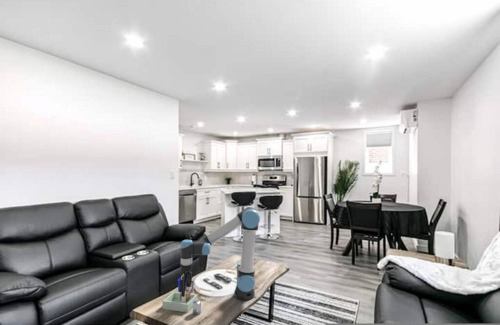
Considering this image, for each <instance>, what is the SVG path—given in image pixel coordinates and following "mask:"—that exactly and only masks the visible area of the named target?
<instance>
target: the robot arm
mask: <svg viewBox="0 0 500 325" xmlns="http://www.w3.org/2000/svg"><path fill="white" fill-rule="evenodd" d="M260 219H261V218H260V214H259V212H258V211H257V210H256V209H255V208H254V207H251V206H250V207H249V206H248V207H246V208H243V209H242V210H241V211H240V212H239V213H237V214H236V216H235V217H233V218H232V219H230V220H229V221H226V223H224V224H222V225H221V226H219V227H218V228H216V229H215V230H214V231H211V232H210V233H209V234H207V235H205V236H204V237H201V238H200V239H199V241H198V243H194V242H193V240H192V239H184V240H181V243H180V271H181V272H182V273H181V276H179V278H180V292H182V301H186V291H185V289H186V290H189V291H190V290H191V288H192V281H193V256H208V255H210V253H211V246H212V245H214V244H215V243H217V242H219V241H220V240H221V239H223V238H225V237H227V236H228V235H230V234H231V233H232V232H234V231H235V230H237V229H239V228H241V230H242V231H243V232H242V242H241V255H240V262H238V263H237V264H236V286H235V289H234V291H233V296H234V298H236V299H237V300H240V301H250V300H252V299H253V298H255V297H256V296H255V294H256V291H255V284H256V280H255V274H256V268H255V267H254V260H255V259H254V257H255V246H256V234H257V233H256V232H257V231H258V230H259V226H260V225H259V223H260V221H261V220H260ZM186 285H187V287H186Z"/></svg>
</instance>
